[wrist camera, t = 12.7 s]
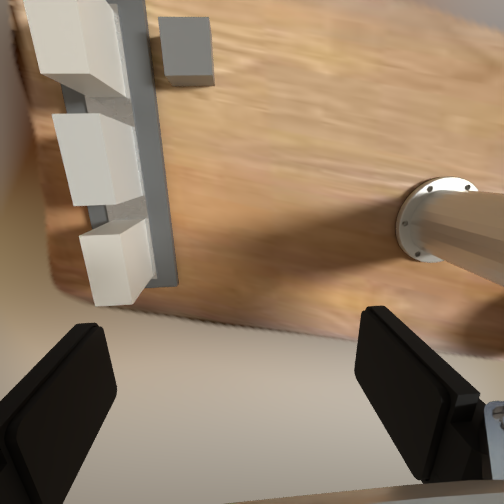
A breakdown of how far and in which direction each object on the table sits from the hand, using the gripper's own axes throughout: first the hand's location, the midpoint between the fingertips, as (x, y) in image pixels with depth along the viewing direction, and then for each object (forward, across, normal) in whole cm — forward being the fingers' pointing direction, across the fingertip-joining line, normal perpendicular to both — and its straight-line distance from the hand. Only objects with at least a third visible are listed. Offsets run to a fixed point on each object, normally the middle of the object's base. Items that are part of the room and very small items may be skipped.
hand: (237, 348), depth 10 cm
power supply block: (+28, +4, -18) cm, 34 cm away
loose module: (+27, +13, -7) cm, 31 cm away
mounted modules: (+27, +14, -7) cm, 31 cm away
